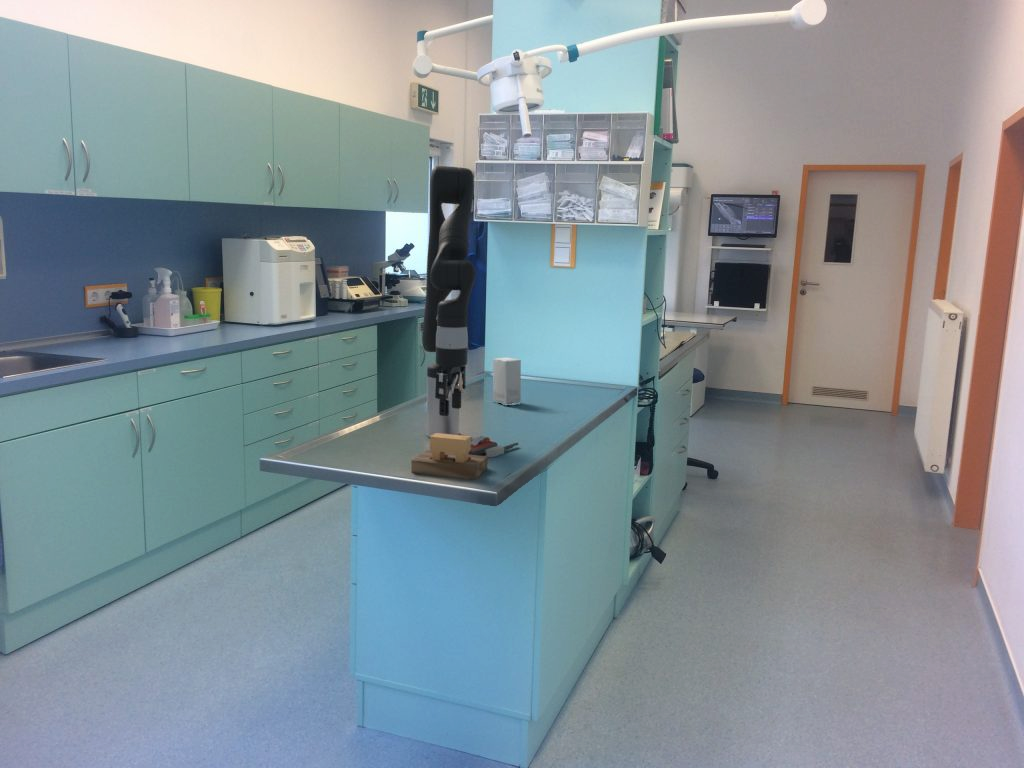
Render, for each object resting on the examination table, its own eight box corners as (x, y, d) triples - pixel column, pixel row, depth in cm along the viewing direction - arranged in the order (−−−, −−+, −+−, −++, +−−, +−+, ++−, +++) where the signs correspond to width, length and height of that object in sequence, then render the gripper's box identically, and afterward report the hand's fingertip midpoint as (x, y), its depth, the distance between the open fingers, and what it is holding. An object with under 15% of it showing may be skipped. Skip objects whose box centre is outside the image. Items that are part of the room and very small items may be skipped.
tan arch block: (435, 466, 200) (436, 432, 199) (470, 470, 198) (470, 436, 196) (429, 470, 196) (430, 436, 195) (464, 474, 194) (465, 440, 193)
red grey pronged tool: (476, 464, 204) (520, 449, 221) (477, 447, 204) (521, 433, 220) (449, 458, 209) (494, 444, 225) (449, 442, 208) (494, 428, 225)
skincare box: (521, 405, 277) (522, 359, 274) (504, 406, 273) (506, 361, 270) (507, 400, 284) (508, 356, 281) (491, 402, 280) (492, 357, 277)
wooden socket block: (426, 461, 204) (427, 450, 204) (487, 468, 200) (487, 456, 199) (411, 472, 195) (411, 460, 194) (474, 479, 190) (474, 467, 190)
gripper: (456, 350, 184) (455, 419, 187) (476, 342, 197) (474, 407, 200) (425, 347, 186) (424, 416, 189) (447, 340, 199) (446, 404, 202)
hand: (450, 411), depth 195 cm, fingers open, 8 cm apart
